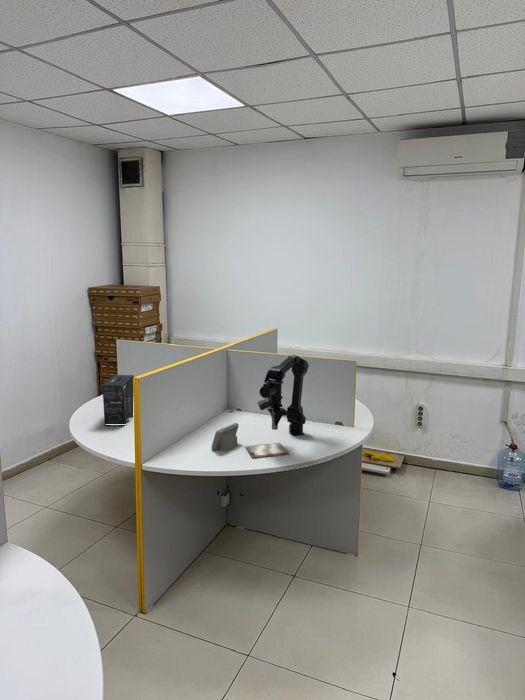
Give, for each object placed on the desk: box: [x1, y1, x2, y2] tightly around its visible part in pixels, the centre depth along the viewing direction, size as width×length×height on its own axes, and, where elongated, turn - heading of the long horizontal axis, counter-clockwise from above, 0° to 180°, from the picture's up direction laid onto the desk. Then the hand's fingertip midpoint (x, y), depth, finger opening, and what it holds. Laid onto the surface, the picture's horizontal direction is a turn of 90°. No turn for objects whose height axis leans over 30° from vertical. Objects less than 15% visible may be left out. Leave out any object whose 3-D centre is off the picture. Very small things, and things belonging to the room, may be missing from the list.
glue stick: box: [271, 415, 279, 431], centre depth 235 cm, size 3×3×9 cm
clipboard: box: [244, 442, 290, 459], centre depth 232 cm, size 18×14×2 cm
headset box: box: [101, 374, 135, 425], centre depth 275 cm, size 22×12×26 cm, turn 179°
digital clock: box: [211, 422, 239, 452], centre depth 237 cm, size 16×9×11 cm, turn 132°
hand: (274, 424), depth 235 cm, fingers closed on glue stick, 3 cm apart
